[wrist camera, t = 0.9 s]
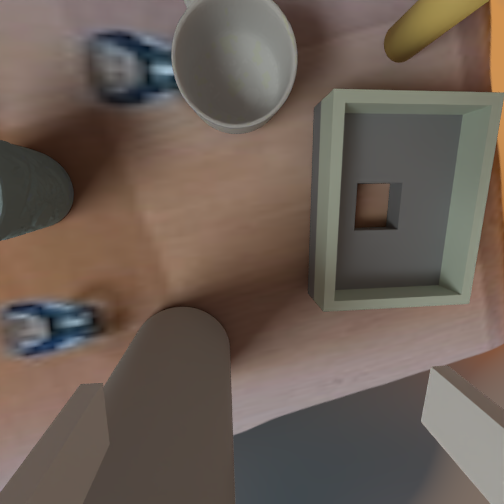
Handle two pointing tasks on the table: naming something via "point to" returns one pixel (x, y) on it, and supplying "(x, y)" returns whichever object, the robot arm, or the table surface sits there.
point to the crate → (400, 196)
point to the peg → (425, 25)
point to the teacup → (234, 61)
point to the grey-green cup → (31, 191)
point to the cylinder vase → (170, 416)
